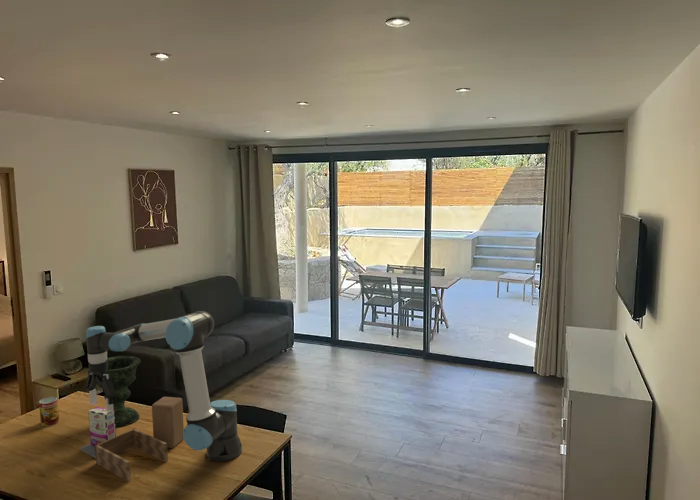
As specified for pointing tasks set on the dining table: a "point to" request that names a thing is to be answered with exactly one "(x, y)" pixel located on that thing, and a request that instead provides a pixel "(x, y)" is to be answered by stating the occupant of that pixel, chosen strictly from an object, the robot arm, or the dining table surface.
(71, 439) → the dining table surface
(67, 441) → the dining table surface
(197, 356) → the robot arm
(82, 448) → the slate mat
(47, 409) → the canned food
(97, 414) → the candy bar box
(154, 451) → the brown u-shaped piece
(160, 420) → the wooden block
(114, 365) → the goblet
